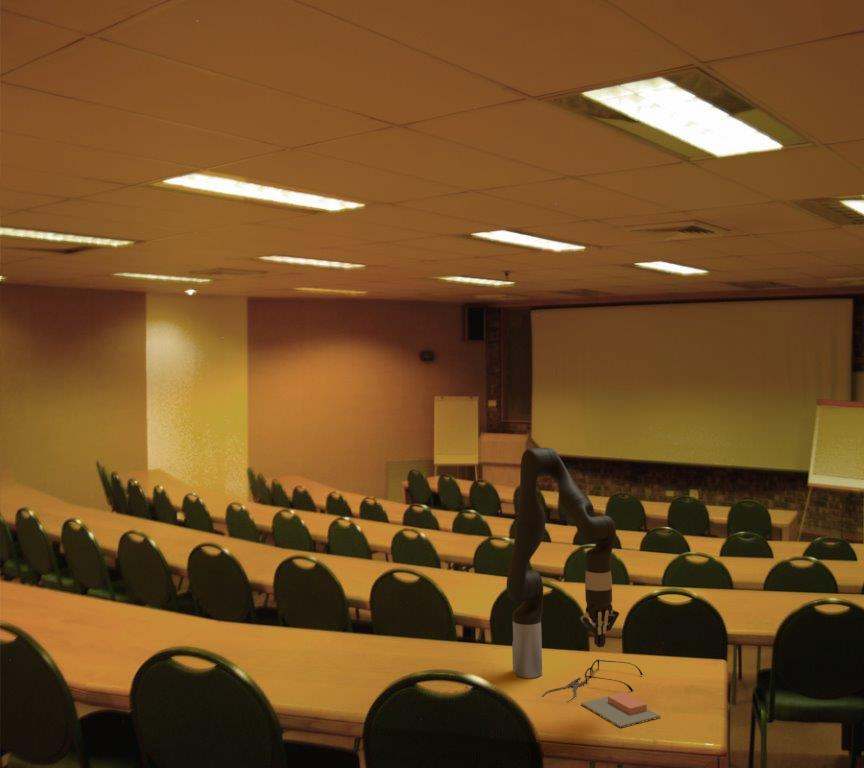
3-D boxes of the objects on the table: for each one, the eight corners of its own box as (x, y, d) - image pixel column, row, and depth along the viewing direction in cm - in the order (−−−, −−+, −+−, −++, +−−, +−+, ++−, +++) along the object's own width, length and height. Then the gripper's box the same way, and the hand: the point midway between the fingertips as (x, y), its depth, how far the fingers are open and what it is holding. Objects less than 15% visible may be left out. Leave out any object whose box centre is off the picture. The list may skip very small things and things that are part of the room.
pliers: (539, 697, 242) (559, 674, 260) (539, 700, 242) (559, 677, 260) (571, 702, 238) (589, 678, 256) (571, 705, 238) (589, 681, 256)
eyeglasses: (597, 669, 267) (597, 657, 267) (645, 676, 259) (645, 664, 259) (582, 686, 252) (582, 673, 252) (633, 694, 245) (632, 681, 245)
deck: (607, 696, 237) (624, 692, 239) (607, 702, 237) (624, 698, 239) (629, 708, 228) (646, 704, 230) (630, 714, 228) (646, 710, 230)
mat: (581, 704, 237) (581, 702, 237) (619, 695, 243) (619, 693, 243) (620, 728, 221) (620, 726, 221) (660, 717, 227) (660, 715, 227)
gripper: (609, 580, 237) (610, 639, 238) (571, 586, 232) (573, 646, 232) (625, 585, 231) (626, 646, 231) (587, 592, 225) (589, 654, 225)
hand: (599, 646), depth 231 cm, fingers closed
